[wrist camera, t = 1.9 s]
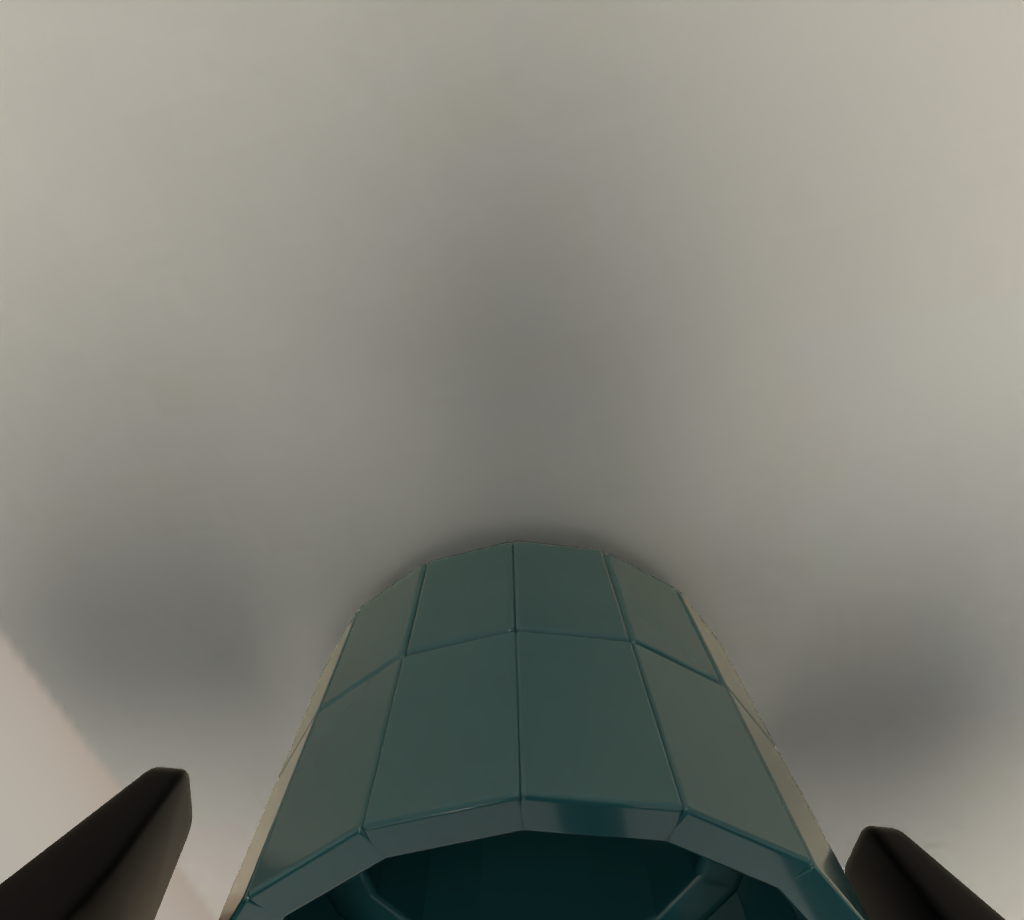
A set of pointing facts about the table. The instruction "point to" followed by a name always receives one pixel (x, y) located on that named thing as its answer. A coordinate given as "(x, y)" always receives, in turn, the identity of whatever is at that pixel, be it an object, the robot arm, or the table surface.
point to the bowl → (535, 762)
